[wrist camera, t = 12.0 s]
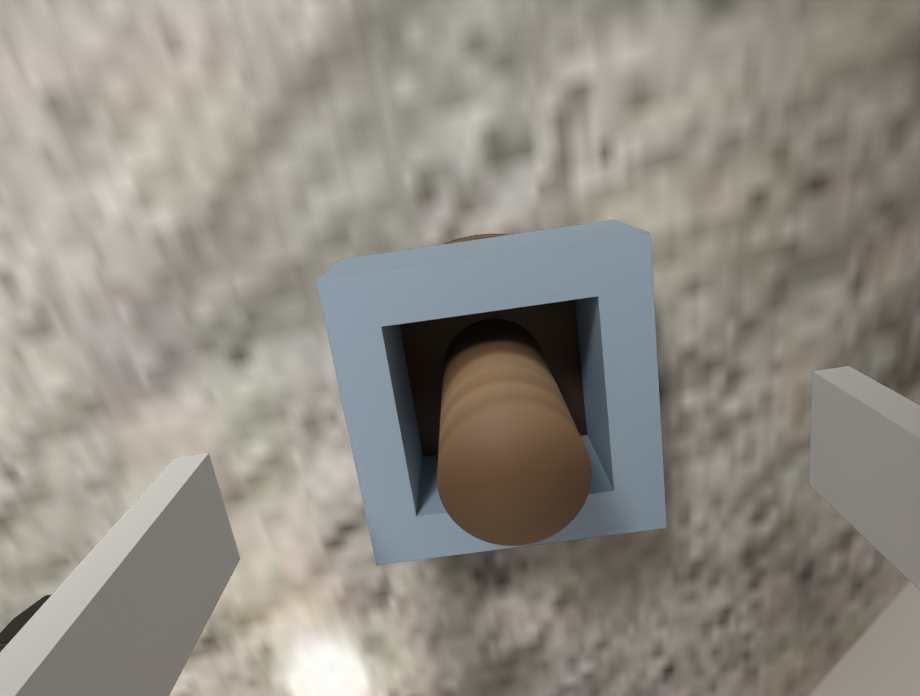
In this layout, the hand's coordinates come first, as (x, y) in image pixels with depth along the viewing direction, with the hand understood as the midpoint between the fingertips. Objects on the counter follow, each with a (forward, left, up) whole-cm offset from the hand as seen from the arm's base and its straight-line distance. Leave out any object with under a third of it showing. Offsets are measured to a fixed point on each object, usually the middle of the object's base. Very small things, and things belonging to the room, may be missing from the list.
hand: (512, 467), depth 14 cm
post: (0, 0, -9) cm, 9 cm away
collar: (0, 0, -8) cm, 8 cm away
